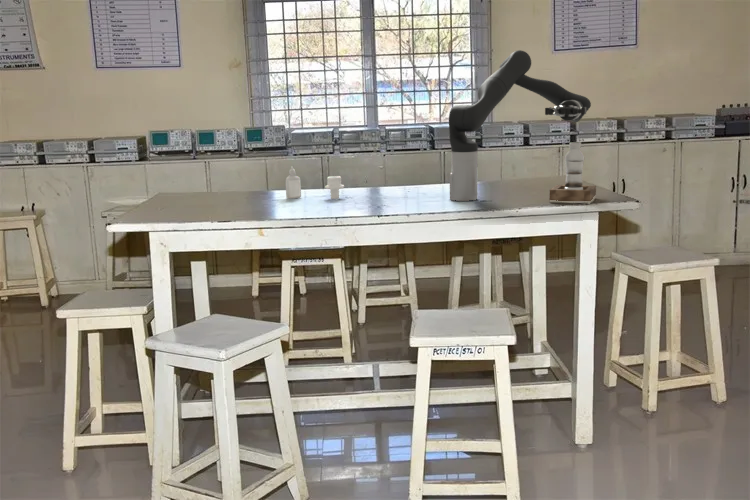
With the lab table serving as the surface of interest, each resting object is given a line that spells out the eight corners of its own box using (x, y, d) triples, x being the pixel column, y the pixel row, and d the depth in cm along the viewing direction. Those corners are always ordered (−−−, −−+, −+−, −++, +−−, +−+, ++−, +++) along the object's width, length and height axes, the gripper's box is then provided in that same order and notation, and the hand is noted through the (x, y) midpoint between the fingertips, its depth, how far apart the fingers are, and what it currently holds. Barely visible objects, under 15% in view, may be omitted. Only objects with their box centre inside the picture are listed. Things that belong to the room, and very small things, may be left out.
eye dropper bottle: (301, 198, 280) (299, 166, 277) (286, 199, 279) (284, 167, 277) (301, 196, 284) (299, 165, 281) (286, 197, 283) (284, 166, 281)
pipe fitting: (333, 200, 273) (332, 178, 271) (322, 198, 279) (321, 176, 277) (347, 198, 277) (346, 176, 275) (336, 196, 282) (336, 175, 281)
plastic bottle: (578, 202, 252) (580, 143, 248) (560, 201, 256) (561, 142, 252) (586, 200, 257) (588, 142, 253) (567, 198, 261) (569, 141, 257)
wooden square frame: (549, 202, 253) (549, 189, 252) (556, 197, 265) (557, 184, 264) (590, 204, 248) (590, 190, 247) (595, 198, 260) (596, 185, 259)
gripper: (551, 100, 281) (542, 101, 267) (590, 99, 276) (582, 100, 261) (550, 120, 283) (541, 122, 269) (589, 120, 277) (582, 122, 263)
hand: (562, 111), depth 265 cm, fingers open, 8 cm apart
